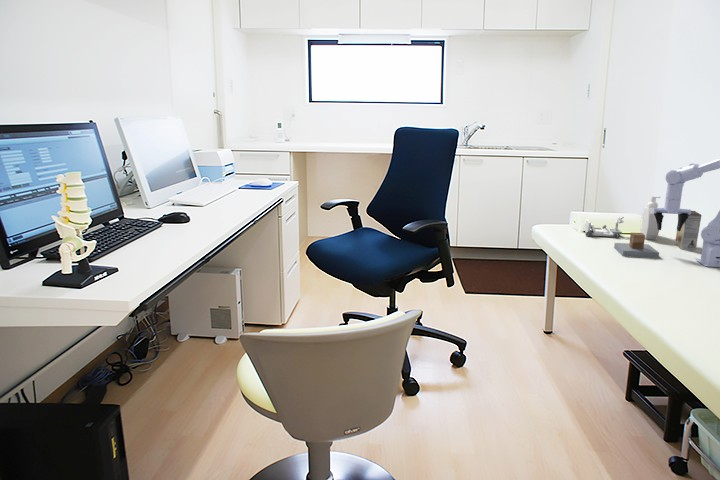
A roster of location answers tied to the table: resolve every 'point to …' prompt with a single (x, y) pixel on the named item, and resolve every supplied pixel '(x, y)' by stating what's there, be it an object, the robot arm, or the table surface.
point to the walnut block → (637, 240)
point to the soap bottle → (650, 220)
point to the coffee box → (689, 232)
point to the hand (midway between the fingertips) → (668, 230)
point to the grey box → (636, 251)
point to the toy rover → (600, 232)
